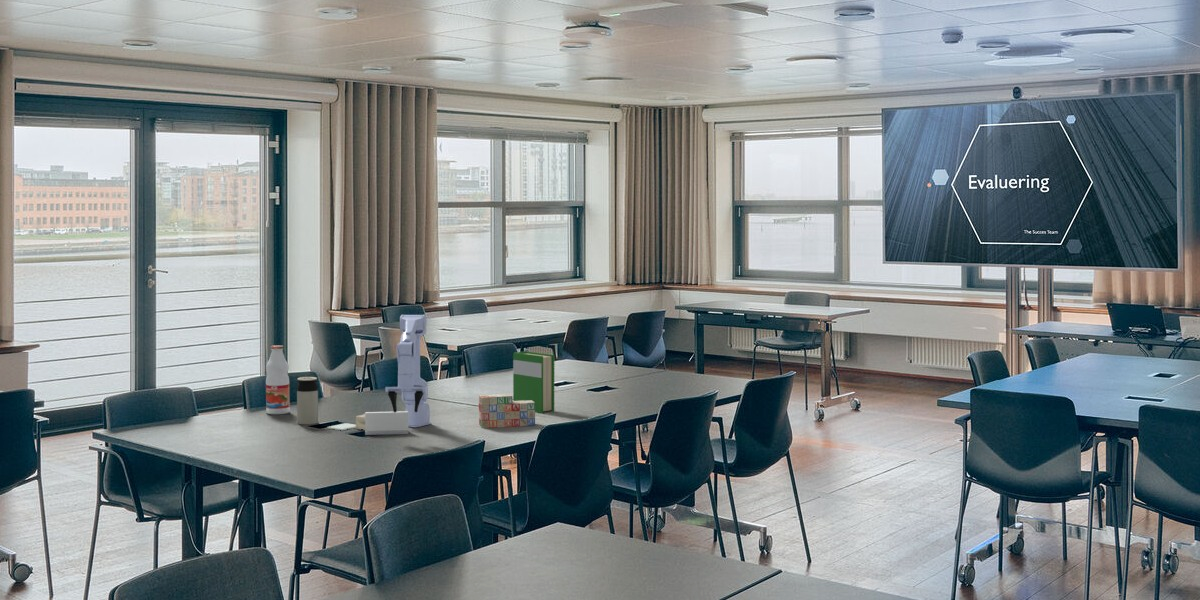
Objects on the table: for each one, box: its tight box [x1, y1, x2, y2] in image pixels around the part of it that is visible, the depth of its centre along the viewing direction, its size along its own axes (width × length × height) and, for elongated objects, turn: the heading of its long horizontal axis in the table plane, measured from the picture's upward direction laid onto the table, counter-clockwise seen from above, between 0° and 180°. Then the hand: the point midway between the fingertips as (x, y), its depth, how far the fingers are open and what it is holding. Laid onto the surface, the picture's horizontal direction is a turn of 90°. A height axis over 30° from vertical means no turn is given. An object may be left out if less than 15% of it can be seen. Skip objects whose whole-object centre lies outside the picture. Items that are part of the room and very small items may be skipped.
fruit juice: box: [265, 344, 291, 415], centre depth 474 cm, size 9×9×28 cm
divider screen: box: [364, 410, 409, 436], centre depth 431 cm, size 16×5×8 cm, turn 100°
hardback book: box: [512, 350, 555, 414], centre depth 484 cm, size 18×7×24 cm, turn 46°
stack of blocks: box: [478, 393, 536, 429], centre depth 449 cm, size 21×6×12 cm, turn 105°
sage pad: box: [326, 422, 356, 432], centre depth 442 cm, size 10×8×1 cm
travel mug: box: [296, 376, 319, 426], centre depth 451 cm, size 8×8×18 cm
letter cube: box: [355, 413, 365, 431], centre depth 441 cm, size 5×5×5 cm
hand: (405, 412), depth 417 cm, fingers open, 7 cm apart
